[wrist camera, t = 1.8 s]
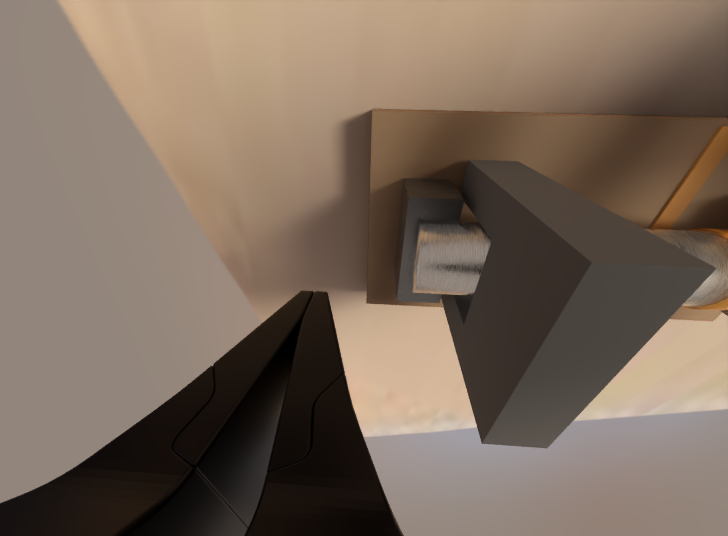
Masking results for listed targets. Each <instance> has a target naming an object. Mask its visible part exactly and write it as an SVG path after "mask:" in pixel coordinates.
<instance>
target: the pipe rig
mask: <svg viewBox="0 0 728 536" xmlns="http://www.w3.org/2000/svg"><path fill="white" fill-rule="evenodd" d="M464 200H465V199H464V198H463V197H462V195H461V194H460V193H459V191H458V190H457V189H456V187H455V186H454V185H453V183H452V182H451V180H447V179H417V178H404V184H403V194H402V204H401V214H400V223H399V233H398V243H397V253H396V263H395V282H396V297H397V301H405V302H425V303H440V300H441V295H442V294H451V295H471V296H474V293H475V289H476V286H477V283H478V280H479V277H480V274H481V271H482V268H483V265H484V262H485V259H486V256H487V253H488V250H489V247H490V244H491V241H492V239H491V238H490V236H489V235H488V234H487V232H486V231H485V230H484V228H483V227H482V225H481V224H480V223H479V222H459V220H460V216H461V212H462V208H463V204H464ZM645 230H647V231H649V232H651V233H652V234H654V235H656V236H658V237H660V238H662V239H664V240H665V241H667V242H669V243H671V244H673V245H675V246H677V247H678V248H680V249H682V250H684V251H686V252H688V253H690V254H691V255H693V256H695V257H697V258H699V259H701V260H703V261H705V262H706V263H708V264H710V265H712V266H714V267H716V268H717V269H716V270H715V271H714V272H713V273H712V274H711V275H710V276H709V277H708V278H707V279H706V280H705V281H704V282H703V284H702V285H701V286H700V287H699V288H698V289H697V290H696V291H695V292H694V293H693V294H692V295H691V296H690V297H689V298H688V299H687V301H686V302H685V303H684V304H683V305H682V306H681V307H684V308H689V309H702V310H720V311H721V312H723V313H724V314H726V315H727V316H728V230H727V229H691V230H687V231H686V230H661V229H645Z"/></svg>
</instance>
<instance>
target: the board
mask: <svg viewBox="0 0 728 536" xmlns="http://www.w3.org/2000/svg"><path fill="white" fill-rule="evenodd" d="M468 160H491V161H518V162H520V163H522V164H524V165H526V166H528V167H530V168H531V169H533V170H535V171H537V172H539V173H541V174H543V175H544V176H546V177H548V178H550V179H552V180H554V181H556V182H557V183H559V184H561V185H563V186H565V187H567V188H569V189H570V190H572V191H574V192H576V193H578V194H580V195H582V196H584V197H585V198H587V199H589V200H591V201H593V202H595V203H597V204H598V205H600V206H602V207H604V208H606V209H608V210H610V211H611V212H613V213H615V214H617V215H619V216H621V217H623V218H624V219H626V220H628V221H630V222H632V223H634V224H636V225H637V226H639V227H641V228H643V229H661V230H686V231H687V230H691V229H727V230H728V117H689V116H647V115H605V114H562V113H520V112H478V111H435V110H393V109H373V111H372V133H371V167H370V200H369V234H368V268H367V301H366V303H369V304H389V305H408V306H427V307H444V306H443V303H442V299H441V300H440V303H425V302H405V301H397V297H396V282H395V263H396V253H397V243H398V233H399V223H400V214H401V204H402V194H403V184H404V178H417V179H447V180H451V182H452V183H453V185H454V186H455V187H456V189H457V190H458V191H459V193H461V189H462V185H463V180H464V176H465V172H466V167H467V163H468ZM459 222H479V221H478V220H477V219H476V217H475V216H474V214H473V213H472V212H471V210H470V209H469V207H468V206H467V205H466V203H465V202H464V204H463V208H462V212H461V216H460V220H459ZM721 313H722V312H721V311H720V310H702V309H689V308H684V307H680V308H679V309H678V310H677V311H676V312H675V313H674V314H673V315H672V316H671V317H670V319H679V320H698V321H713V320H715V319H716V318H717V317H718V316H719V315H720V314H721Z"/></svg>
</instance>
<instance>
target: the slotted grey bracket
mask: <svg viewBox="0 0 728 536" xmlns="http://www.w3.org/2000/svg"><path fill="white" fill-rule="evenodd" d="M460 194H461V195H462V197H463V198H464V199H465V200H464V202H465V203H466V205H467V206H468V207H469V209H470V210H471V212H472V213H473V214H474V216H475V217H476V219H477V220H478V221H479V223H480V224H481V225H482V227H483V228H484V230H485V231H486V232H487V234H488V235H489V236H490V238H491V239H492V241H491V244H490V247H489V250H488V253H487V256H486V259H485V262H484V265H483V268H482V271H481V274H480V277H479V280H478V283H477V286H476V289H475V293H474V296H471V295H451V294H442V295H441V299H442V303H443V306H444V310H445V314H446V317H447V321H448V324H449V328H450V331H451V335H452V338H453V342H454V346H455V349H456V353H457V356H458V360H459V363H460V367H461V371H462V374H463V378H464V381H465V385H466V388H467V392H468V396H469V399H470V403H471V406H472V410H473V413H474V417H475V420H476V424H477V428H478V431H479V435H480V438H481V441H482V444H495V445H509V446H523V447H539V448H548V447H549V446H550V445H551V444H552V443H553V442H554V440H555V439H556V438H557V437H558V436H559V435H560V434H561V433H562V432H563V431H564V430H565V429H566V428H567V426H569V425H570V423H571V422H572V421H573V420H574V419H575V418H576V417H577V416H578V415H579V414H580V413H581V412H582V411H583V410H584V409H585V408H586V407H587V405H588V404H589V403H590V402H591V401H592V400H593V399H594V398H595V397H596V396H597V395H598V394H599V393H600V392H601V391H602V390H603V389H604V387H605V386H606V385H607V384H608V383H609V382H610V381H611V380H612V379H613V378H614V377H615V376H616V375H617V374H618V373H619V372H620V370H621V369H622V368H623V367H624V366H625V365H626V364H627V363H628V362H629V361H630V360H631V359H632V358H633V357H634V356H635V355H636V354H637V352H638V351H639V350H640V349H641V348H642V347H643V346H644V345H645V344H646V343H647V342H648V341H649V340H650V339H651V338H652V337H653V335H654V334H655V333H656V332H657V331H658V330H659V329H660V328H661V327H662V326H663V325H664V324H665V323H666V322H667V321H668V320H669V319H670V317H671V316H672V315H673V314H674V313H675V312H676V311H677V310H678V309H679V308H680V307H681V306H682V305H683V304H684V303H685V302H686V301H687V299H688V298H689V297H690V296H691V295H692V294H693V293H694V292H695V291H696V290H697V289H698V288H699V287H700V286H701V285H702V284H703V282H704V281H705V280H706V279H707V278H708V277H709V276H710V275H711V274H712V273H713V272H714V271H715V270H716V269H717V268H716V267H714V266H712V265H710V264H708V263H706V262H705V261H703V260H701V259H699V258H697V257H695V256H693V255H691V254H690V253H688V252H686V251H684V250H682V249H680V248H678V247H677V246H675V245H673V244H671V243H669V242H667V241H665V240H664V239H662V238H660V237H658V236H656V235H654V234H652V233H651V232H649V231H647V230H645V229H643V228H641V227H639V226H637V225H636V224H634V223H632V222H630V221H628V220H626V219H624V218H623V217H621V216H619V215H617V214H615V213H613V212H611V211H610V210H608V209H606V208H604V207H602V206H600V205H598V204H597V203H595V202H593V201H591V200H589V199H587V198H585V197H584V196H582V195H580V194H578V193H576V192H574V191H572V190H570V189H569V188H567V187H565V186H563V185H561V184H559V183H557V182H556V181H554V180H552V179H550V178H548V177H546V176H544V175H543V174H541V173H539V172H537V171H535V170H533V169H531V168H530V167H528V166H526V165H524V164H522V163H520V162H518V161H491V160H468V163H467V167H466V172H465V176H464V180H463V185H462V189H461V193H460Z"/></svg>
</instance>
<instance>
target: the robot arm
mask: <svg viewBox="0 0 728 536" xmlns="http://www.w3.org/2000/svg"><path fill="white" fill-rule="evenodd" d="M0 536H404V535H403V533H402V531H401V530H400V528H399V525H398V523H397V521H396V519H395V517H394V515H393V512H392V510H391V508H390V505H389V503H388V501H387V498H386V496H385V493H384V491H383V488H382V485H381V483H380V480H379V478H378V475H377V472H376V470H375V467H374V464H373V461H372V459H371V456H370V453H369V451H368V448H367V445H366V443H365V440H364V437H363V434H362V432H361V429H360V426H359V423H358V420H357V417H356V414H355V411H354V408H353V405H352V401H351V397H350V393H349V389H348V385H347V380H346V376H345V371H344V367H343V362H342V357H341V353H340V348H339V343H338V339H337V334H336V329H335V325H334V320H333V315H332V310H331V306H330V301H329V296H328V293H327V292H322V291H316V292H313V291H300V292H299V293H298V294H297V295H295V296H294V297H293V298H292V299H291V300H290V301H288V302H287V303H286V304H285V305H284V306H282V307H281V308H280V309H279V310H278V311H276V312H275V313H274V314H273V315H272V316H270V317H269V318H268V319H267V320H266V321H264V322H263V323H262V324H261V325H260V326H258V327H257V328H256V329H255V330H254V331H252V332H251V333H250V334H249V335H248V336H246V337H245V338H244V339H243V340H242V341H240V342H239V343H238V344H237V345H236V346H235V347H233V348H232V349H231V350H230V351H229V352H227V353H226V354H225V355H224V356H223V357H221V358H220V359H219V360H218V361H216V362H215V363H214V365H213V366H210V367H209V368H208V369H207V370H206V371H204V372H203V373H202V374H201V375H200V376H198V377H197V378H196V379H195V380H193V381H192V382H191V383H190V384H188V385H187V386H186V387H185V388H183V389H182V390H181V391H180V392H178V393H177V394H176V395H174V396H173V397H172V398H171V399H169V400H168V401H166V402H165V403H164V404H162V405H161V406H160V407H158V408H157V409H156V410H154V411H153V412H152V413H150V414H149V415H147V416H146V417H145V418H143V419H142V420H141V421H139V422H138V423H136V424H135V425H133V426H132V427H131V428H129V429H128V430H127V431H125V432H124V433H122V434H121V435H120V436H118V437H117V438H115V439H114V440H113V441H111V442H110V443H109V444H107V445H106V446H104V447H103V448H102V449H100V450H99V451H97V452H96V453H95V454H93V455H92V456H90V457H89V458H88V459H86V460H85V461H83V462H82V463H80V464H79V465H77V466H76V467H74V468H73V469H71V470H70V471H68V472H66V473H65V474H63V475H61V476H60V477H58V478H56V479H54V480H52V481H50V482H49V483H47V484H45V485H43V486H40V487H38V488H36V489H34V490H32V491H30V492H27V493H25V494H22V495H20V496H17V497H15V498H12V499H10V500H8V501H5V502H2V503H0Z"/></svg>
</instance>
